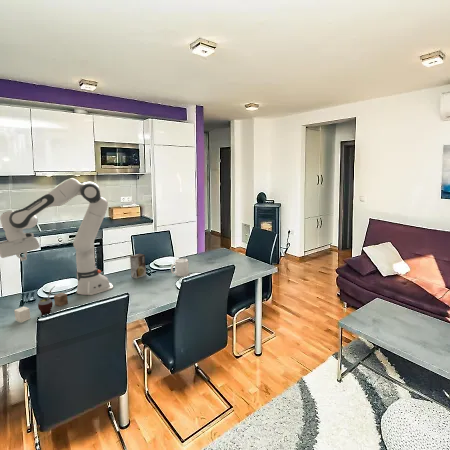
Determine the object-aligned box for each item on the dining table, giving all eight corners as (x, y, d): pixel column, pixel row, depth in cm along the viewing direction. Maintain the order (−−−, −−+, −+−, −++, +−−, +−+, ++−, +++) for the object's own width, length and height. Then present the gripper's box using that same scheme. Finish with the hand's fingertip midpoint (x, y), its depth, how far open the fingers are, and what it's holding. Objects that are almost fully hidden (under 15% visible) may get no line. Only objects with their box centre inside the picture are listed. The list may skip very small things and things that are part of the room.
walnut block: (62, 301, 192) (61, 292, 191) (67, 303, 190) (66, 294, 189) (54, 304, 188) (53, 295, 187) (60, 306, 186) (59, 297, 185)
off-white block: (25, 316, 174) (24, 306, 173) (30, 318, 171) (29, 308, 170) (15, 320, 169) (14, 310, 168) (20, 322, 167) (19, 312, 166)
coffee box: (140, 273, 242) (139, 253, 239) (146, 275, 238) (145, 254, 235) (130, 277, 234) (129, 256, 231) (136, 278, 231) (135, 257, 228)
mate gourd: (36, 315, 175) (33, 289, 173) (48, 309, 183) (45, 284, 180) (46, 317, 173) (43, 291, 170) (58, 311, 180) (55, 286, 177)
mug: (175, 278, 231) (174, 264, 229) (168, 274, 239) (168, 261, 237) (191, 274, 239) (190, 260, 237) (184, 270, 247) (184, 257, 245)
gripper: (-4, 241, 177) (4, 265, 177) (35, 232, 192) (43, 254, 192) (-6, 244, 181) (2, 266, 181) (33, 234, 196) (40, 256, 196)
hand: (24, 260), depth 186 cm, fingers closed
